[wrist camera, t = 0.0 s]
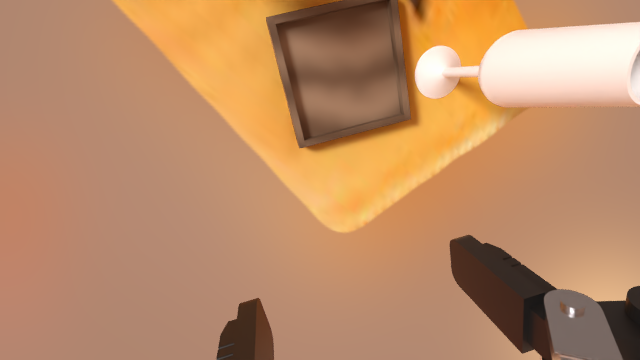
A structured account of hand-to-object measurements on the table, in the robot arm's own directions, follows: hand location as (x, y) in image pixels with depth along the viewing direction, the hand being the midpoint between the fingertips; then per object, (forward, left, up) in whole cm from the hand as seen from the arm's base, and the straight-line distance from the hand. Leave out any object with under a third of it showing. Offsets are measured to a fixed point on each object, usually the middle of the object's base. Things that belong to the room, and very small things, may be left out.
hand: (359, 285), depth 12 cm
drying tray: (-7, +8, -29) cm, 31 cm away
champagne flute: (-4, +21, -30) cm, 36 cm away
